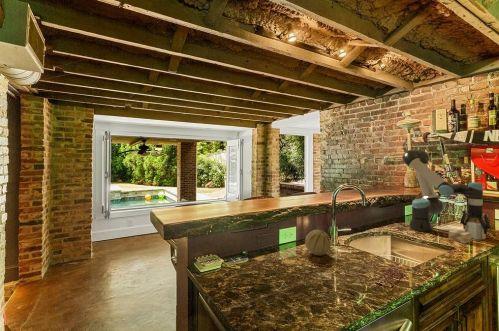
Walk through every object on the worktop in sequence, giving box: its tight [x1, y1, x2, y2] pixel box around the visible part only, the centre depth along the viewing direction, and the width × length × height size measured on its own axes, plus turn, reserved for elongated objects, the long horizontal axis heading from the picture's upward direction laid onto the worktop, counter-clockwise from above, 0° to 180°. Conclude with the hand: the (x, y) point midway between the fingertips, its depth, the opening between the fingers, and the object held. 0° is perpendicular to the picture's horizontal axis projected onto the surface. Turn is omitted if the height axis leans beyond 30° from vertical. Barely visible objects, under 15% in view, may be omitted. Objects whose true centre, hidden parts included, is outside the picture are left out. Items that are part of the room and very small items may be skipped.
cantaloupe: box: [304, 229, 332, 256], centre depth 149 cm, size 15×15×15 cm
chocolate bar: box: [376, 267, 405, 285], centre depth 119 cm, size 7×19×2 cm, turn 133°
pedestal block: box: [448, 229, 472, 244], centre depth 170 cm, size 9×9×6 cm
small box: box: [467, 221, 484, 240], centre depth 175 cm, size 8×6×10 cm
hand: (474, 236), depth 175 cm, fingers closed on small box, 9 cm apart
